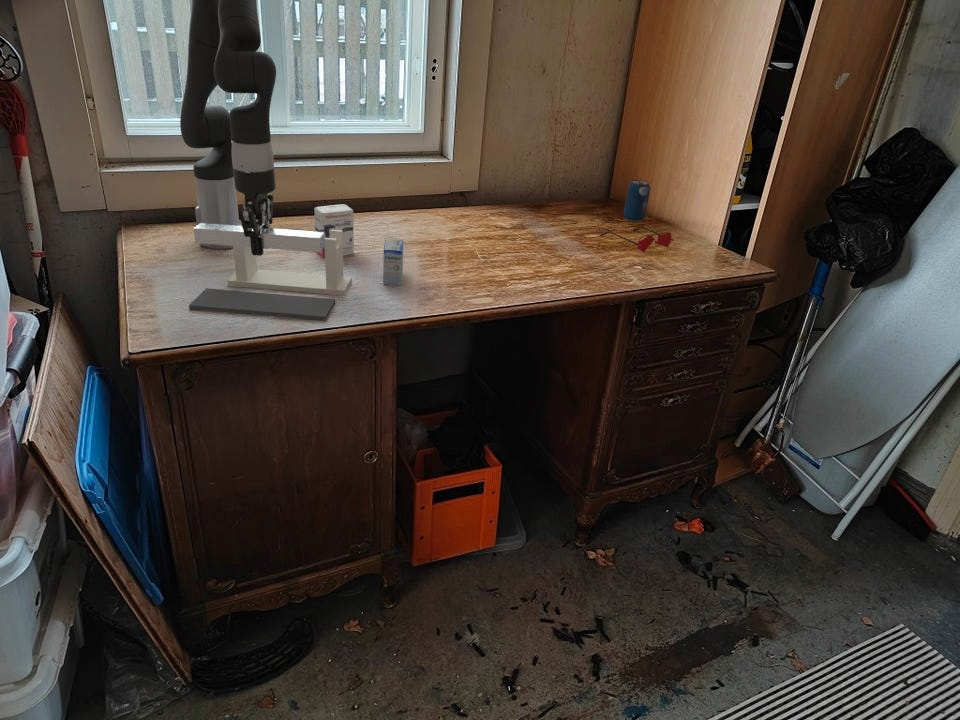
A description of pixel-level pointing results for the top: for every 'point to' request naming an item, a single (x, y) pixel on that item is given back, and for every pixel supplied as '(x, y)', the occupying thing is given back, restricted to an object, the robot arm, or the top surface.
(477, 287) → the top surface
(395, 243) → the medicine box
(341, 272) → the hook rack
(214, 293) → the rubber mat
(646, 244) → the glasses
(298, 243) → the rail
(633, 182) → the soda can
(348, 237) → the ink box
